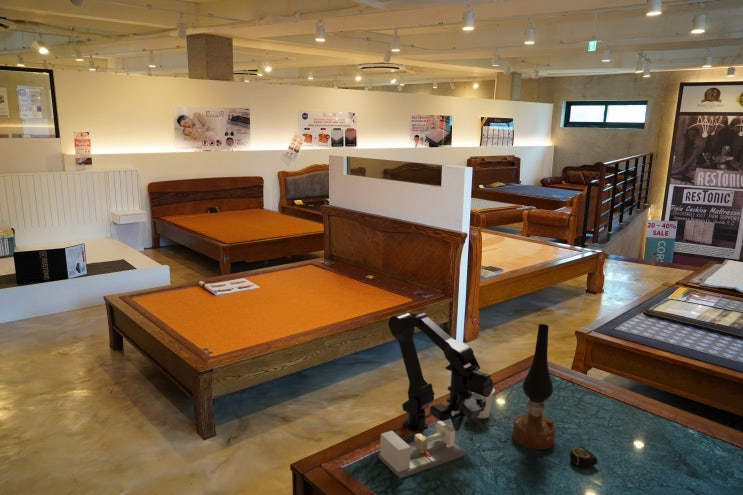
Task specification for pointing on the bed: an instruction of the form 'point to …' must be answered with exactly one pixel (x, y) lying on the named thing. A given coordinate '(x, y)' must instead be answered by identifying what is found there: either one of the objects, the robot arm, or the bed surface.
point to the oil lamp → (536, 400)
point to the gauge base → (414, 454)
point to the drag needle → (421, 443)
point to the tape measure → (582, 457)
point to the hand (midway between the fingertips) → (456, 430)
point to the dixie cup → (488, 405)
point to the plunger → (443, 434)
